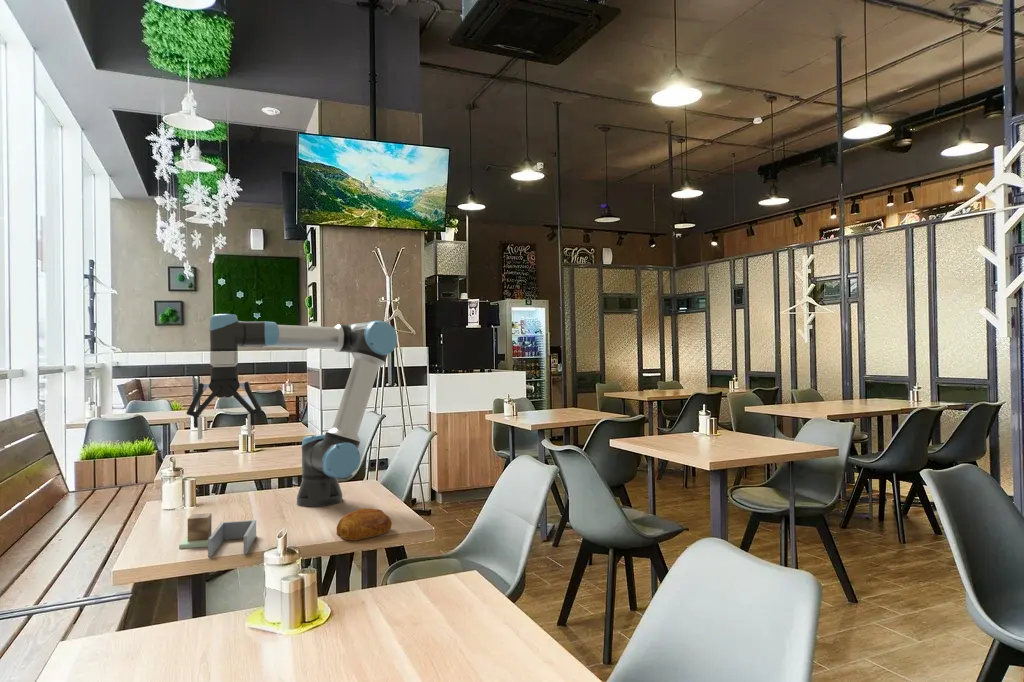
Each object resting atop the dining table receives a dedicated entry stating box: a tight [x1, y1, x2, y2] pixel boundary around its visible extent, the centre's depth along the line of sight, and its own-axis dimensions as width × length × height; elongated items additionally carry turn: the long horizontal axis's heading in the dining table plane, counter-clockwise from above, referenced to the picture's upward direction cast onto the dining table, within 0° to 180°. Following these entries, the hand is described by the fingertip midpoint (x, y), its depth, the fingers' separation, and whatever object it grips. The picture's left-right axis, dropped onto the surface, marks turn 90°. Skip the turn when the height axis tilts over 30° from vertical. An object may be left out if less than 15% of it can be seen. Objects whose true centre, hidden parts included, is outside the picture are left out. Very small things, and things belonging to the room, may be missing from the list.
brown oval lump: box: [336, 507, 393, 541], centre depth 183 cm, size 14×16×8 cm
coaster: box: [178, 536, 208, 550], centre depth 175 cm, size 8×8×1 cm
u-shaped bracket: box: [207, 519, 257, 558], centre depth 172 cm, size 9×17×4 cm, turn 14°
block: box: [187, 513, 213, 541], centre depth 176 cm, size 5×5×6 cm
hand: (225, 437), depth 192 cm, fingers open, 13 cm apart
